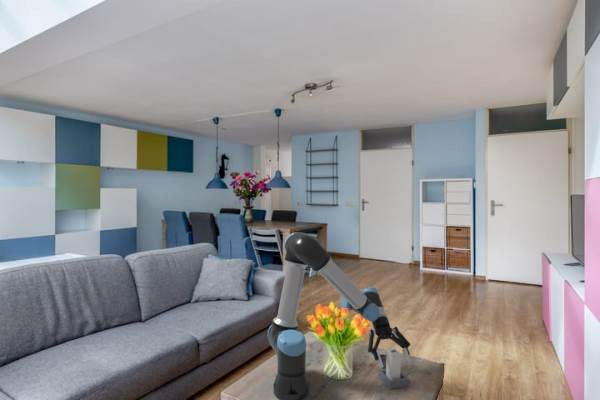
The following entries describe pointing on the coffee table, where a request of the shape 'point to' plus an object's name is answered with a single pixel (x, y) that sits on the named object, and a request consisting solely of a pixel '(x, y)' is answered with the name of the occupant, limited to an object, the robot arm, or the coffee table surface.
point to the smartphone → (383, 361)
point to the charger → (393, 364)
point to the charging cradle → (393, 383)
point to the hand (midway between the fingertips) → (395, 365)
